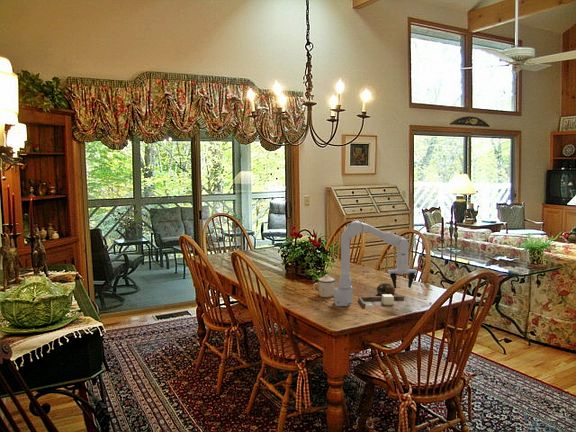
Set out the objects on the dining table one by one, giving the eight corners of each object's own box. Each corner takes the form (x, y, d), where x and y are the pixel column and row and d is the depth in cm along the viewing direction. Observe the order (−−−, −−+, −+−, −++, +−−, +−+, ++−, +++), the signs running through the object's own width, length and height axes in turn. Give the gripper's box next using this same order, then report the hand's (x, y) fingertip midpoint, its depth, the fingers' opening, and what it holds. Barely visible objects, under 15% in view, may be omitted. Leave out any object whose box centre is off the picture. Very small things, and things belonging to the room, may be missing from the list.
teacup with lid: (332, 292, 275) (332, 272, 273) (336, 297, 266) (336, 276, 264) (312, 293, 273) (312, 273, 272) (314, 298, 264) (314, 277, 263)
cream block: (384, 304, 245) (384, 297, 245) (381, 301, 250) (381, 294, 250) (393, 304, 245) (393, 296, 245) (391, 301, 250) (391, 294, 250)
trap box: (363, 310, 240) (363, 303, 240) (358, 303, 253) (358, 296, 253) (410, 309, 241) (411, 302, 241) (403, 302, 254) (403, 295, 254)
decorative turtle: (384, 302, 255) (383, 287, 255) (372, 296, 270) (371, 282, 269) (401, 299, 258) (400, 284, 257) (387, 294, 272) (386, 280, 272)
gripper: (390, 263, 242) (390, 290, 243) (419, 262, 242) (418, 289, 244) (387, 260, 249) (386, 286, 250) (414, 260, 249) (414, 285, 251)
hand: (402, 287), depth 247 cm, fingers open, 7 cm apart
